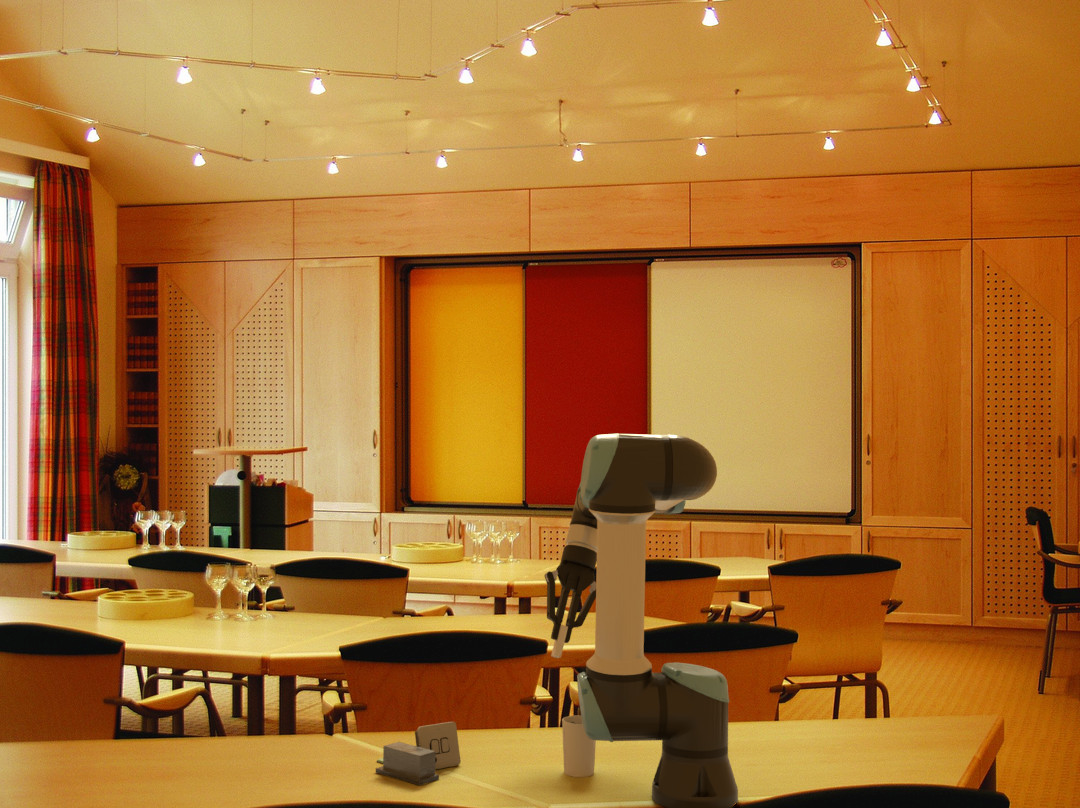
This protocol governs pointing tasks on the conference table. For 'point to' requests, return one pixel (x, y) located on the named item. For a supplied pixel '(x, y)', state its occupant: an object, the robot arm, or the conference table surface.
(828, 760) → the conference table surface
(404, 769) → the block
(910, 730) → the conference table surface
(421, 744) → the electrical switch
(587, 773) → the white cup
